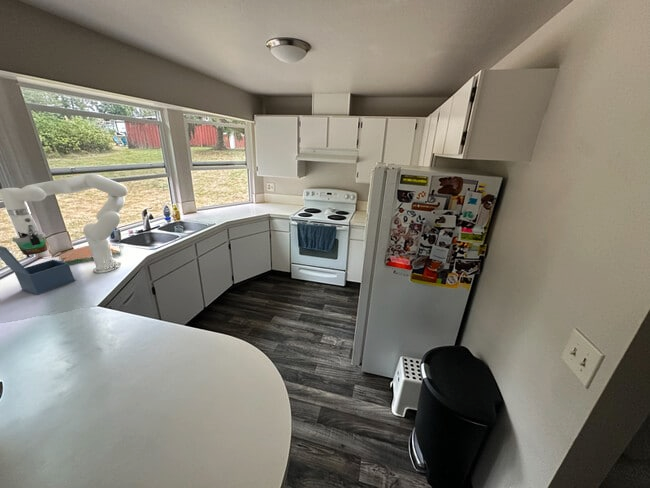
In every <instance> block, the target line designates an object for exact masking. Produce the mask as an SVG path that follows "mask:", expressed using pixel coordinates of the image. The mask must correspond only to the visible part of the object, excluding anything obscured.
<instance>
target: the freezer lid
mask: <svg viewBox="0 0 650 488" xmlns="http://www.w3.org/2000/svg"><path fill="white" fill-rule="evenodd" d="M0 259H1V261H2V262H4V264H5V265H6V266H7V267H8V268H9V269H10V270H11V271H12V272H14V271H16V272H19V273H23V274H26V275H30V273H29V272H28V271H27V270H26V269H25V268H26V267H24V265H22V264H21V263H20V261H19V260H18V259H17V258H16V257H15V255H13V254H12V253H11V252H10V250H9V249H8V248H7V247H5V246H1V245H0Z"/></svg>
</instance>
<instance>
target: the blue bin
mask: <svg viewBox="0 0 650 488" xmlns="http://www.w3.org/2000/svg"><path fill="white" fill-rule="evenodd" d="M24 268H25V269H26V270H27V271H28V272H29V273H30V275H26V274H23V273H19V272H16V271H13V272H14V274H15V277H16V279H17V281H18V284H19V285H20V288H21V290H22V291H25V292H29V293H32V294H35V295H40V294H43V293H46V292H49V291H51V290H54V289H57V288H60V287H62V286H65V285H68V284H71V283H73V282H76V280H75V278H74V275H73V272H72V270H71V266H70V263H69V262H68V263H66V261H65V262H63V261H60V260H56V259H49V260H46V261H43V262H40V263H37V264H32V265H30V266H29V265H28V266H26V267H24Z"/></svg>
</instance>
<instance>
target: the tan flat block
mask: <svg viewBox="0 0 650 488" xmlns="http://www.w3.org/2000/svg"><path fill="white" fill-rule="evenodd" d="M109 246H110V250H111V253H112V256H113V255H114V256H113V258H114V257H116V255H117V257H118V256H120V255H121V253H120V252H121V248H120V245H113V244H111V243H109ZM88 258H89V261H93V262H94V259H93V256H92V253H91V250H90V247H89V245H85V246H81V247H77V248H74V249H70V250H67V251H66V252H65V253H61V254H59V257H58V260H62V262H65V263H68V264H69V263H70V264H72V265H76V264H79V263H80V264H81V263H83V261H81V260H83V259H88ZM80 261H81V262H80ZM85 262H88V260H85Z"/></svg>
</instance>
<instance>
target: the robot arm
mask: <svg viewBox="0 0 650 488" xmlns="http://www.w3.org/2000/svg"><path fill="white" fill-rule="evenodd" d="M92 189H95V190H98V191H101V192H103V193H106V194H107V200H106V201H105V203H104V204H103V205H102V207H101V208H100V209H99V211H98V212H96V215H95V218H96V220H97V221H96V222H89V223H87V224H85V225H84V227H83V229H82V231H83V235H84V237H85V239H86V242H87V244H88V246H89V247H90V250H91V253H92V256H93V257H92V260H93V263H94V265H95V267H94V268H93V272H94V273H97V274H101V273H107V272H111V271H114V270H117V269H118V268H119V267H121V266H122V262H121V261H118V262H117V261H116V260H115V259H114V256H113V253H111V250H110V246H109V244H110V243H109V240H108V238H109V237H110V236H111V235H112V234H113V232H114V231H115V230H116V228H117V227H118V226H119V224H120V222H121V216H120V214H119V213H120V212H121V210H122V209H123V207H124V205H125V202H126V200H125V196H127V194H128V192H129V191H128V188H127V186H126V185H124V184H123V183H120V182H117V181H116V180H113V179H110V178H108V177H105V176H103V175H100V174H98V173H97V174H96V173H84V174H80V175H74V176H70V177H67V178H66V177H65V178H59V179H55V180H48V181H43V182H37V183H32V184H27V185H25V186H23V187H22V188H19V187H5V188H0V198H1V200H2V202H3V205H4V206H5V209H6V211H7V214H8V216H9V217H11V220H12V223H13V226H14V228H15V230H16V231H17V233H19V236H20V237H25V236H29V237H30V241H31V243H32V245H38V244H41V243H40V240H39V238H38V235H39V234H38V232H39V231H40V230H39V228H38V225H37V223H36V221H35V219H34V218H33V215H31V214H32V212H31V209H30V207H29V205H28V202H41V201H44V200H45V199H46V197H48V196H53V195H61V194H63V195H64V194H65V195H66V194H67V195H68V194H76V193H79V192H82V191H88V190H92ZM31 235H32V236H31Z"/></svg>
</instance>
